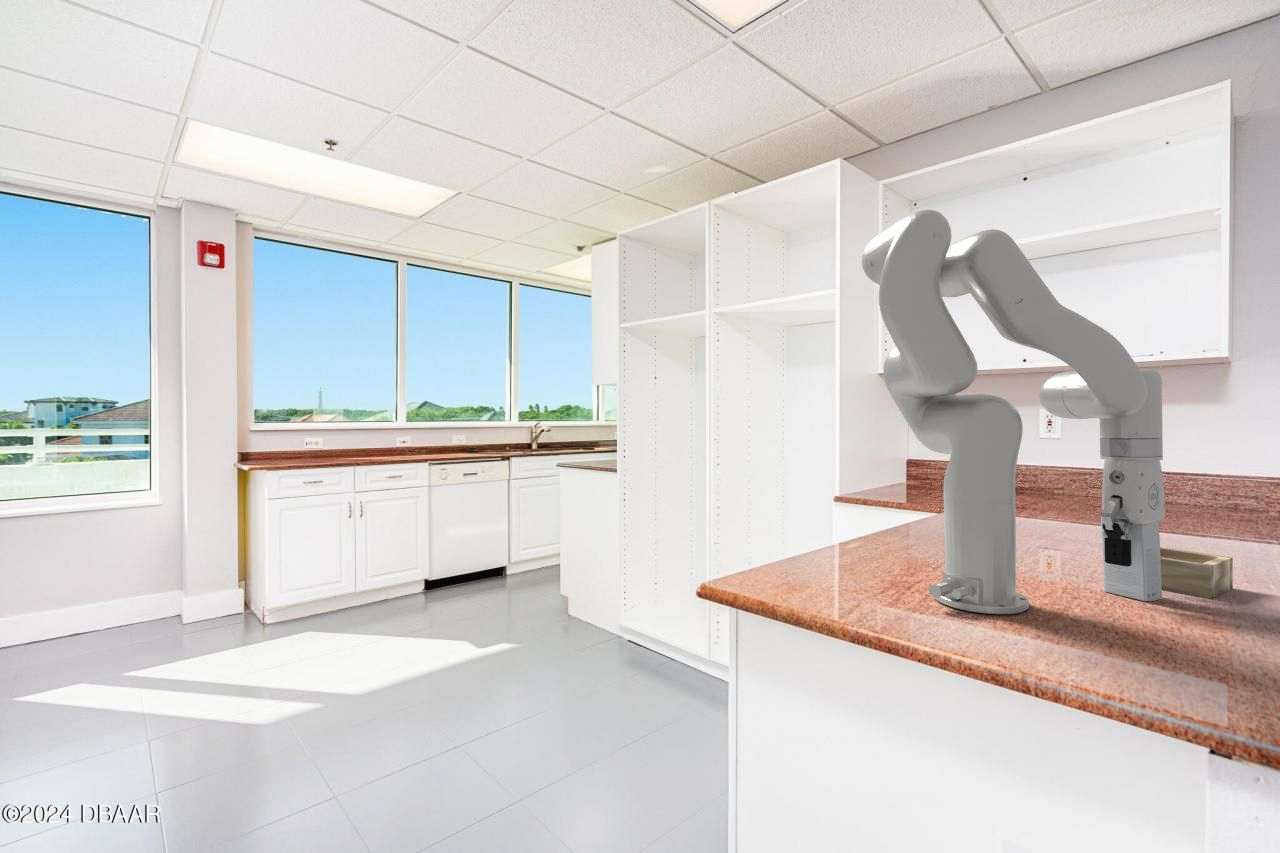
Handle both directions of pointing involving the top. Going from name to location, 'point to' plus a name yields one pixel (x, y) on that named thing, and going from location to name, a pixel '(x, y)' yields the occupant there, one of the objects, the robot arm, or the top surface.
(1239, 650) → the top surface
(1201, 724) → the top surface
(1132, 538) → the skincare box
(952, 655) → the top surface
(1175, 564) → the well block
